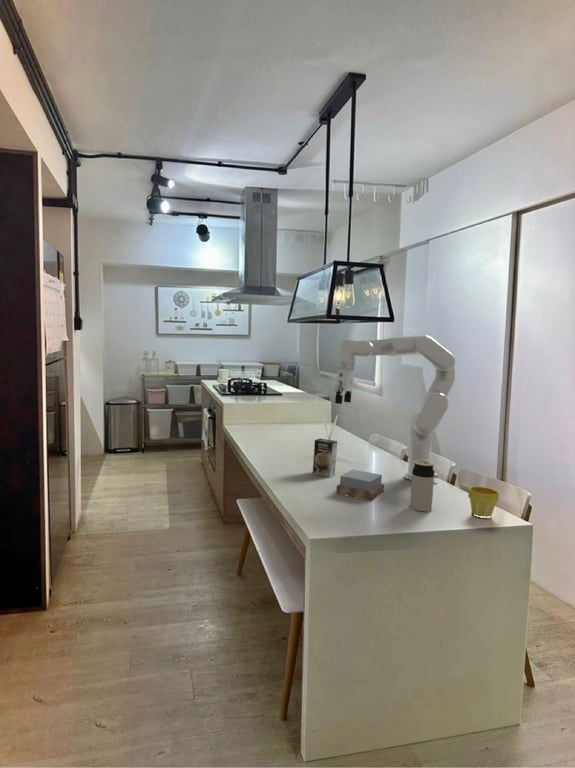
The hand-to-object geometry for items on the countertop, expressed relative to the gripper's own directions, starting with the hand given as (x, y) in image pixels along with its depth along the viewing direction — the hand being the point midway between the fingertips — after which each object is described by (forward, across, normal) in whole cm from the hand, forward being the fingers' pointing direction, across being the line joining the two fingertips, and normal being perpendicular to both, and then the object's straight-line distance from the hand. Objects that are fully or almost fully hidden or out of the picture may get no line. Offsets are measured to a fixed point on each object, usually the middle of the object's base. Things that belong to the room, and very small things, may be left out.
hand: (342, 402), depth 232 cm
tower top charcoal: (+30, -22, -21) cm, 43 cm away
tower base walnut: (+34, -22, -21) cm, 46 cm away
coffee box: (+34, -7, +3) cm, 35 cm away
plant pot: (+32, -19, -68) cm, 78 cm away
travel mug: (+32, -26, -47) cm, 63 cm away
